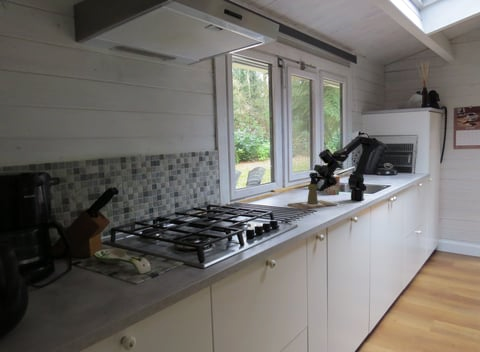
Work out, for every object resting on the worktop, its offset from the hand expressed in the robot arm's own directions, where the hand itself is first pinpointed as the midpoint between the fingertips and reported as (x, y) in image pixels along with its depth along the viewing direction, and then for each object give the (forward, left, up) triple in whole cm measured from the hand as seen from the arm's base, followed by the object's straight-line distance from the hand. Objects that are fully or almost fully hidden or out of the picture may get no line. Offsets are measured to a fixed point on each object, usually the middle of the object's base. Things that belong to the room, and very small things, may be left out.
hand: (314, 189), depth 208 cm
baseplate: (+1, +1, -9) cm, 9 cm away
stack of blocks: (+12, -49, -9) cm, 51 cm away
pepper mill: (+1, +1, -8) cm, 8 cm away
